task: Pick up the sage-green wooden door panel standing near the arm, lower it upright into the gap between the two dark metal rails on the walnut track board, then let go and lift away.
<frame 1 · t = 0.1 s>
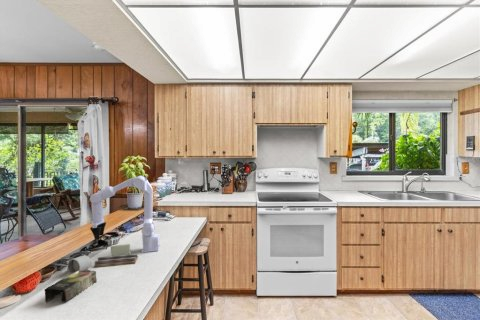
hand: (99, 237, 171), 10 cm above the countertop, tool pointing down, fingers open, 7 cm apart
door panel: (120, 255, 168), on the countertop
mossy channel block: (73, 292, 126), on the countertop
grey cylinder: (77, 272, 147), on the countertop
track board: (116, 262, 158), on the countertop
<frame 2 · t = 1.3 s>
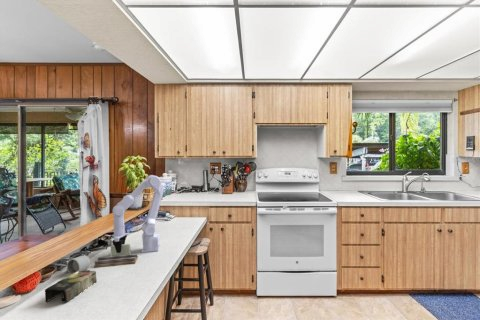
hand: (120, 250, 168), 3 cm above the countertop, tool pointing down, fingers open, 7 cm apart
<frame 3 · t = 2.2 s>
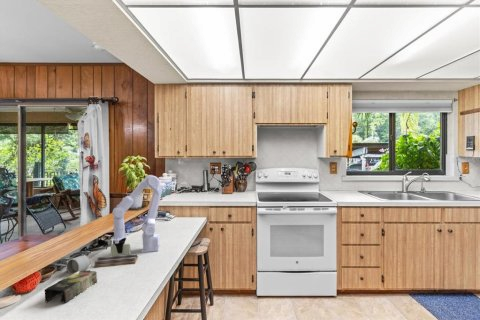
hand: (120, 252, 168), 2 cm above the countertop, tool pointing down, fingers closed on door panel, 2 cm apart
door panel: (120, 255, 168), on the countertop, touching gripper
everything else where it was.
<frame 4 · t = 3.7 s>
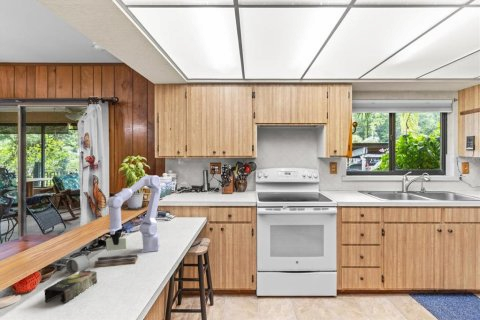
hand: (116, 244, 160), 9 cm above the countertop, tool pointing down, fingers closed on door panel
door panel: (116, 249, 160), point 6 cm above the countertop, touching gripper
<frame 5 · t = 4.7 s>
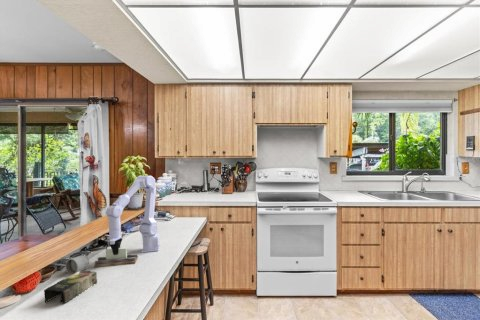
hand: (116, 253, 157), 5 cm above the countertop, tool pointing down, fingers closed on door panel, 2 cm apart
door panel: (116, 259, 158), point 1 cm above the countertop, touching gripper
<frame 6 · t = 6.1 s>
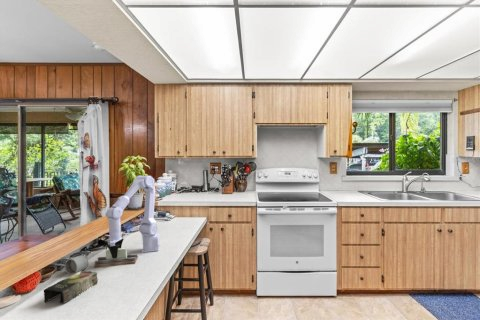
hand: (116, 255, 158), 4 cm above the countertop, tool pointing down, fingers open, 7 cm apart
door panel: (116, 260, 158), point 1 cm above the countertop, touching track board
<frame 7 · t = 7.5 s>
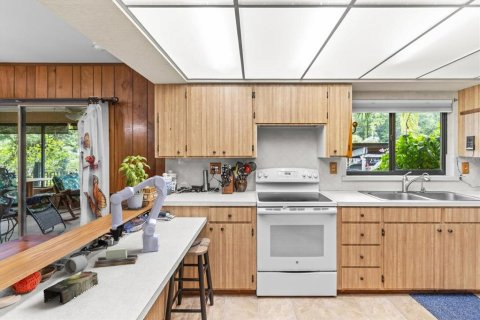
hand: (118, 239, 168), 9 cm above the countertop, tool pointing down, fingers open, 7 cm apart
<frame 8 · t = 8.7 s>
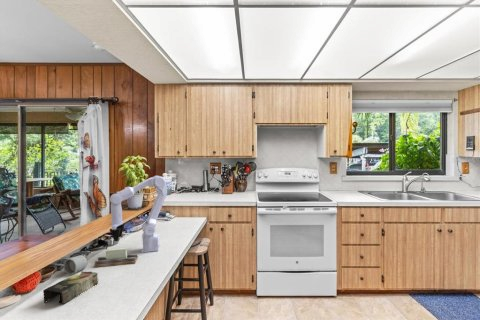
hand: (118, 239, 168), 9 cm above the countertop, tool pointing down, fingers open, 7 cm apart
at the end: door panel inside the target area on the track board (0.0 cm from its centre), point 1.0 cm above the track board's base; door panel tilted 0°; the gripper is holding nothing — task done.
